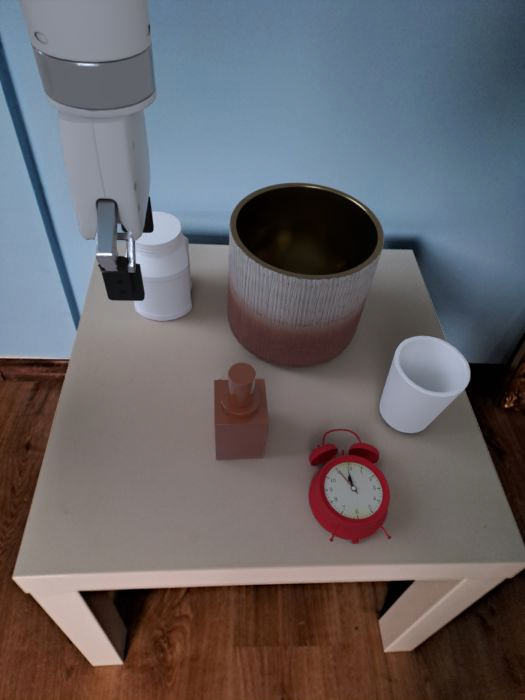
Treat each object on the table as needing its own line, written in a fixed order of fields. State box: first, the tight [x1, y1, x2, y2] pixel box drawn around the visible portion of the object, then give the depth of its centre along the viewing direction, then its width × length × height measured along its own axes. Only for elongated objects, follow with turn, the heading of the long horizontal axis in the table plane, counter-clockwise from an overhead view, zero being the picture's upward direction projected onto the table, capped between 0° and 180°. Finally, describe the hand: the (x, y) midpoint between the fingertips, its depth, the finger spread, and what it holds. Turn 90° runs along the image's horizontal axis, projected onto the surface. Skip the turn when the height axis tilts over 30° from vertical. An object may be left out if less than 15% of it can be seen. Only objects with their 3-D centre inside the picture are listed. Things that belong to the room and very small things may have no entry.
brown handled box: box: [213, 362, 269, 461], centre depth 60 cm, size 7×9×16 cm
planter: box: [227, 182, 385, 369], centre depth 72 cm, size 22×22×20 cm
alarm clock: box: [308, 428, 392, 545], centre depth 60 cm, size 10×6×15 cm
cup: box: [378, 335, 471, 435], centre depth 64 cm, size 10×10×13 cm
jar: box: [124, 210, 193, 322], centre depth 75 cm, size 12×10×15 cm
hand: (133, 262), depth 45 cm, fingers open, 9 cm apart
